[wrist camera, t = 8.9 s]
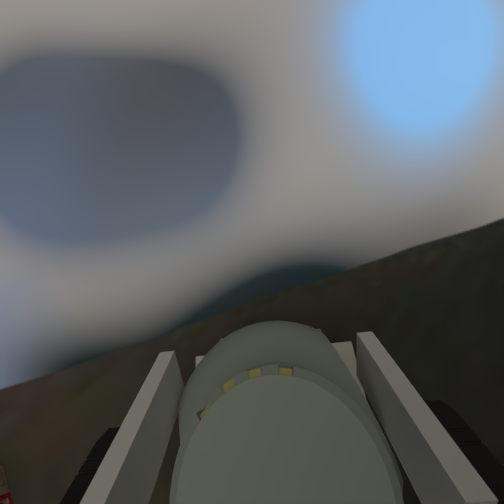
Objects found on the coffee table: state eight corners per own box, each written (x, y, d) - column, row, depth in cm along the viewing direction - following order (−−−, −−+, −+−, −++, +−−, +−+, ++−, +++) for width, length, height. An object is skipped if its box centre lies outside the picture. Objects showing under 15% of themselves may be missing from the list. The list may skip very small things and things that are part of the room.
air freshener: (396, 503, 13) (680, 819, 4) (252, 583, 12) (172, 1221, 3) (298, 312, 17) (319, 250, 9) (192, 360, 17) (95, 347, 8)
